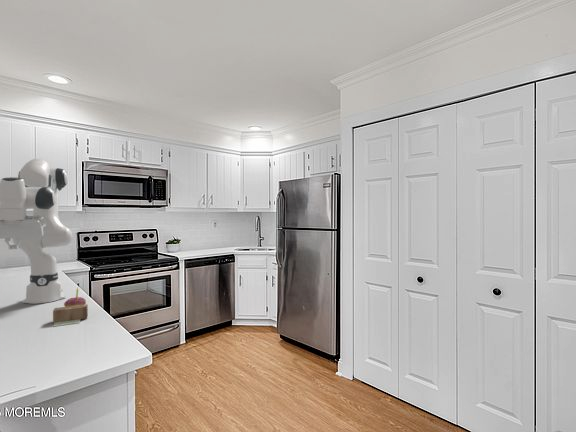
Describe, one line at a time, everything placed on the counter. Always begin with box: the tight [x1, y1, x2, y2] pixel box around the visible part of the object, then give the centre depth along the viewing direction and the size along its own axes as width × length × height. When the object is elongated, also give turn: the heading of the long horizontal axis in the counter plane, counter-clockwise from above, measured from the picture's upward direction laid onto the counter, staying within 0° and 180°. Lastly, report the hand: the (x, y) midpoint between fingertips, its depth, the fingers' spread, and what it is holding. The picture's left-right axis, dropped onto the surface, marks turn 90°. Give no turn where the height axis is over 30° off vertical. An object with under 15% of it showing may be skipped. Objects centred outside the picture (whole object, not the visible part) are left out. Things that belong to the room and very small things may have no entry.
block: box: [52, 303, 89, 324], centre depth 141 cm, size 5×5×12 cm
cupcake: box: [63, 287, 87, 307], centre depth 151 cm, size 9×8×12 cm
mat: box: [52, 319, 82, 327], centre depth 141 cm, size 14×9×1 cm, turn 28°
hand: (13, 249), depth 137 cm, fingers closed
